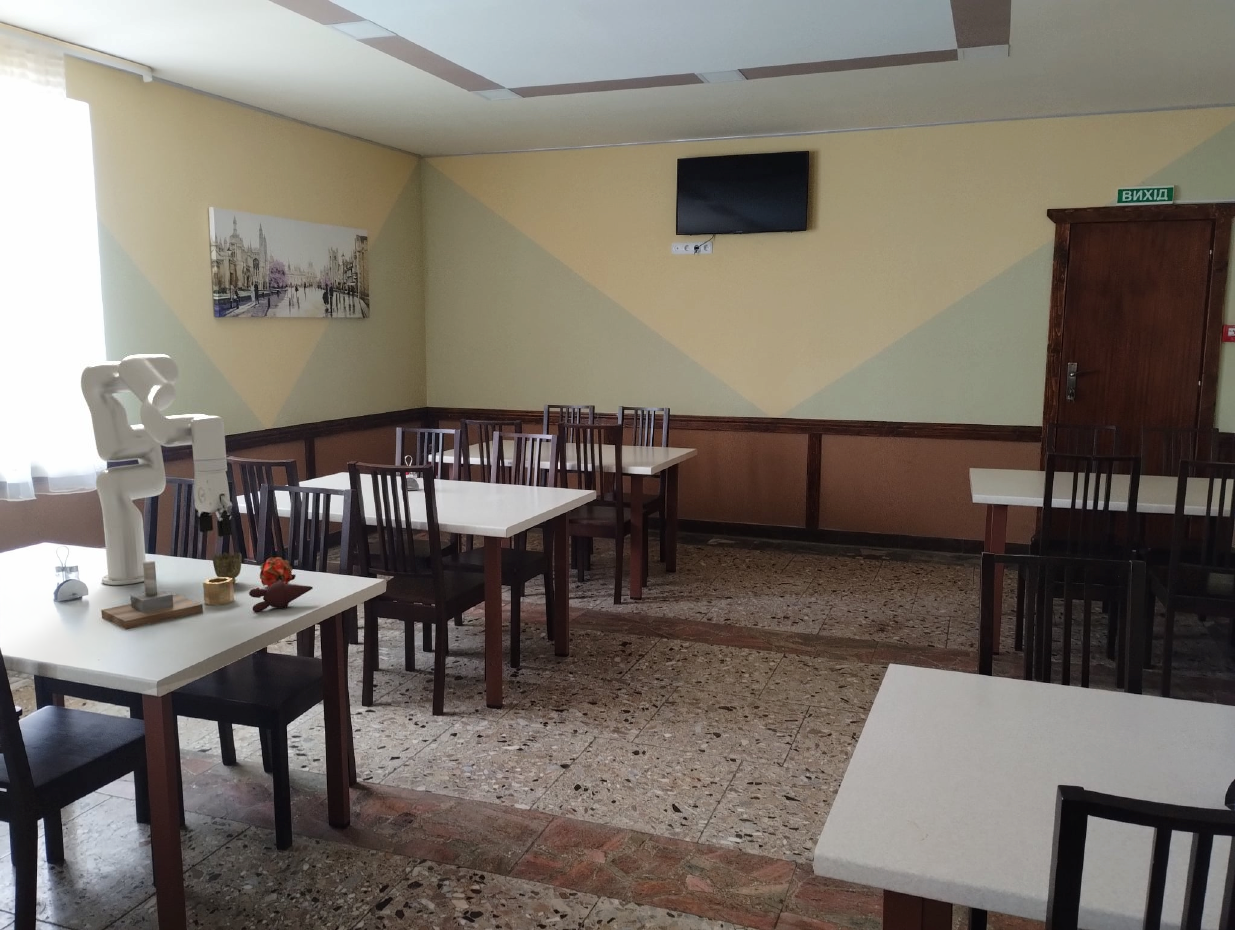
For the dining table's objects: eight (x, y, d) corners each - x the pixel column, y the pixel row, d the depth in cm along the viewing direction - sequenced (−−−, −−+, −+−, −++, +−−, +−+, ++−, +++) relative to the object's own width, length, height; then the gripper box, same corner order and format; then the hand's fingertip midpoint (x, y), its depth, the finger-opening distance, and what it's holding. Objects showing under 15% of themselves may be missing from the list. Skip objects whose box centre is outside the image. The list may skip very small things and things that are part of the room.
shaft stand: (101, 617, 227) (97, 564, 225) (177, 601, 240) (173, 551, 239) (125, 629, 218) (121, 574, 216) (203, 612, 231) (199, 559, 229)
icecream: (306, 574, 242) (245, 588, 234) (313, 573, 235) (250, 587, 228) (312, 601, 241) (250, 615, 234) (318, 600, 235) (255, 615, 227)
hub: (200, 601, 240) (199, 580, 239) (225, 596, 245) (224, 575, 244) (212, 606, 236) (211, 585, 235) (237, 601, 241) (236, 579, 240)
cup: (248, 580, 261) (246, 552, 260) (235, 587, 254) (233, 558, 252) (222, 580, 262) (220, 551, 260) (208, 587, 254) (206, 558, 253)
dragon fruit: (275, 586, 261) (284, 603, 251) (248, 572, 256) (256, 588, 246) (294, 560, 261) (303, 576, 251) (267, 546, 257) (275, 561, 247)
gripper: (179, 465, 238) (185, 532, 241) (212, 470, 227) (217, 540, 229) (209, 461, 244) (214, 527, 246) (242, 466, 233) (246, 535, 235)
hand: (215, 533), depth 238 cm, fingers open, 9 cm apart
